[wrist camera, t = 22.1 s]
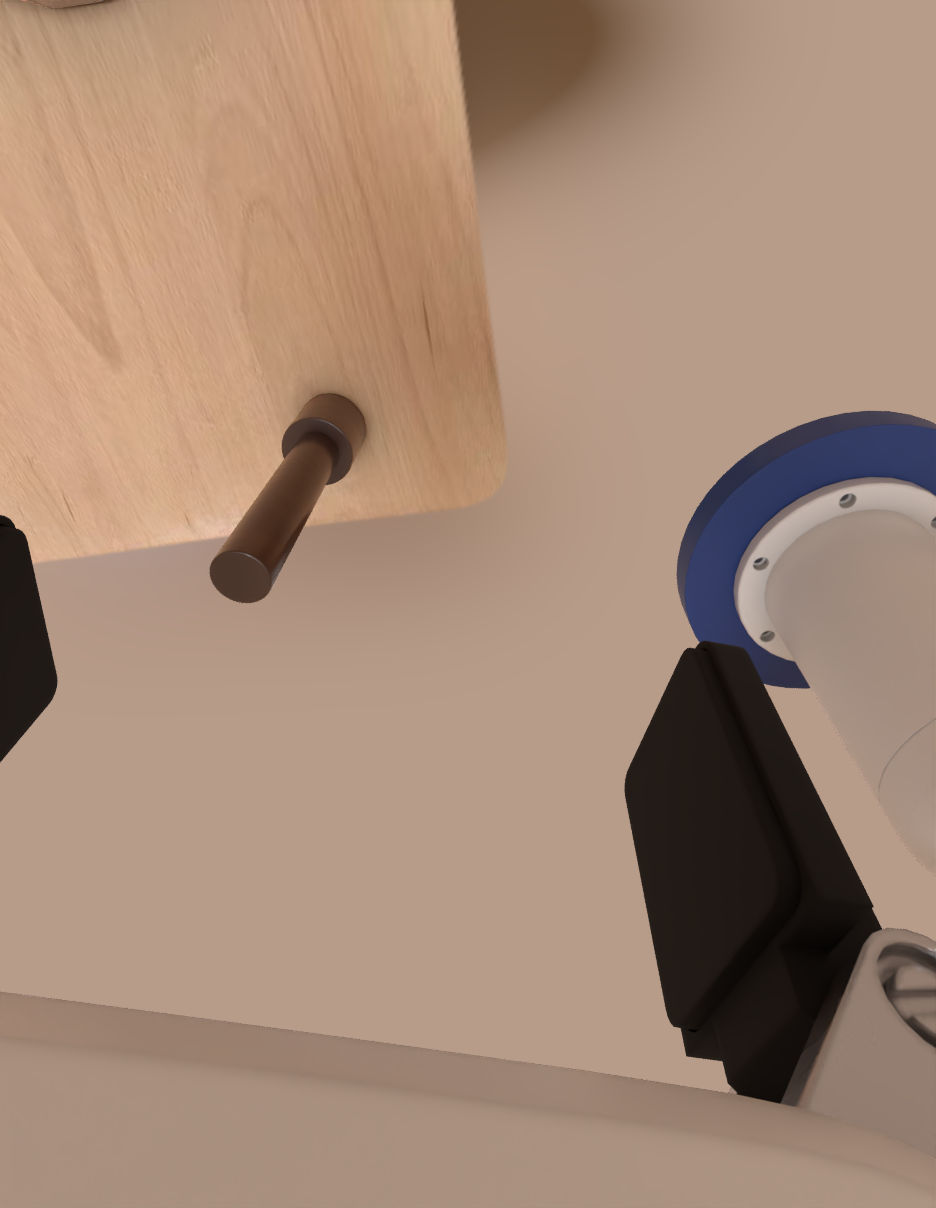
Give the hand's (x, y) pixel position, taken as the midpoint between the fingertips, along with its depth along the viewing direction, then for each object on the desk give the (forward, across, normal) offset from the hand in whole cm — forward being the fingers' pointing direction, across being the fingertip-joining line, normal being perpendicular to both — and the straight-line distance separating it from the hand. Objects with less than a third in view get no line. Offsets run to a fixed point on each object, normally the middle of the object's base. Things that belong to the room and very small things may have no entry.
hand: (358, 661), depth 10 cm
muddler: (+28, +6, +7) cm, 30 cm away
